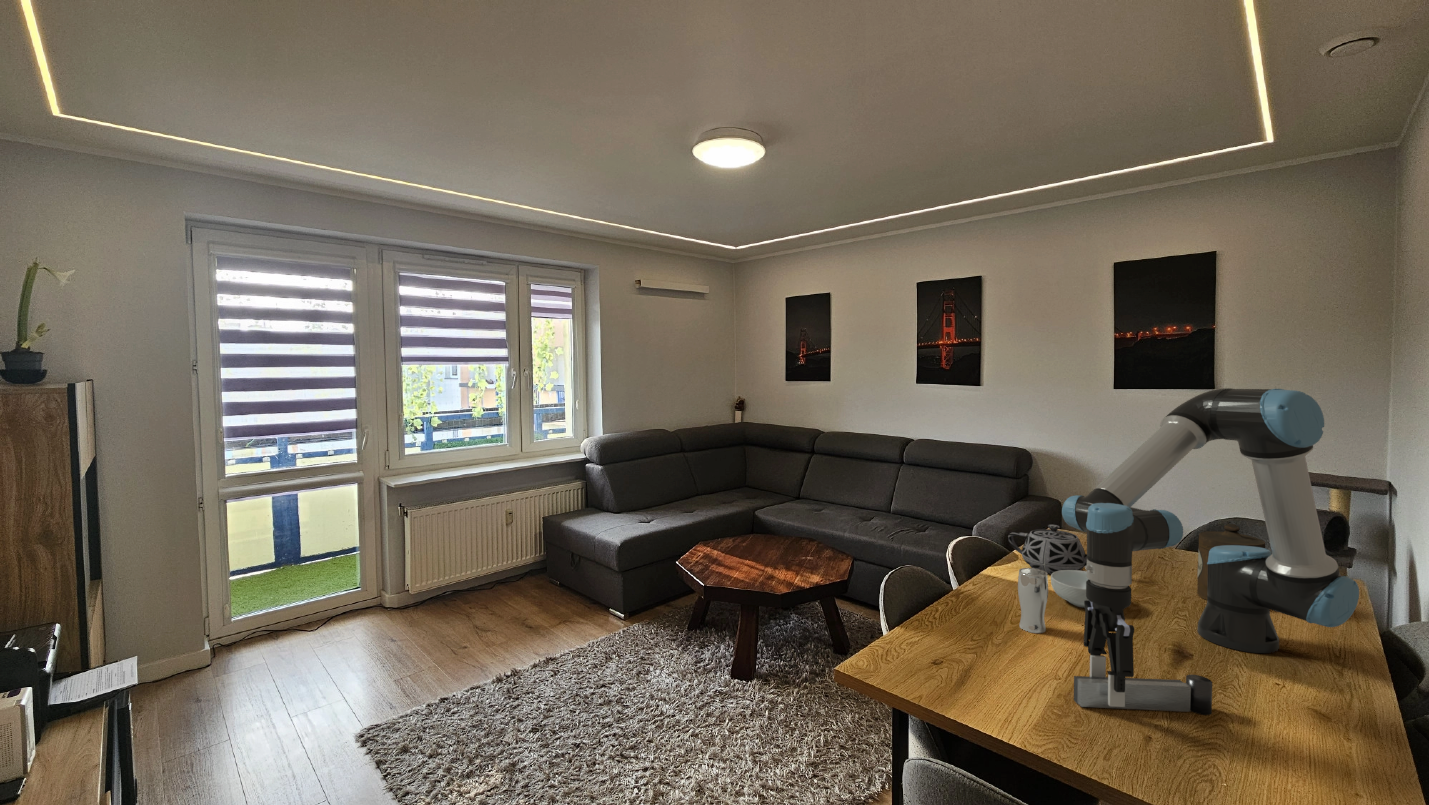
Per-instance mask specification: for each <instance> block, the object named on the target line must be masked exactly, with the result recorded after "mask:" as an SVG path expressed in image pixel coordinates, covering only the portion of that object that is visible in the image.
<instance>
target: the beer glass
mask: <svg viewBox="0 0 1429 805" xmlns="http://www.w3.org/2000/svg"><path fill="white" fill-rule="evenodd" d="M1048 578H1049V577H1048V573H1046V572H1045V571H1043V570H1039V569H1035V568H1032V567H1021V568H1020V569H1018V579H1017V592H1018V593H1017V594H1018V595H1017V596H1018V601H1019V605H1020V621H1019V629H1021V630H1022V629H1023V631H1024V630H1025V631H1024V632H1027V631H1028V632H1027V633H1032V634H1043V633H1045V632H1046V631H1047V630H1046V627H1047V626H1046V624H1045V623H1046V622H1045V613H1046V608H1047V603H1048V598H1049V580H1048Z"/></svg>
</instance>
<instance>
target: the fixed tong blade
mask: <svg viewBox="0 0 1429 805" xmlns="http://www.w3.org/2000/svg"><path fill="white" fill-rule="evenodd" d="M1078 678H1081V679H1106V680H1108V676H1106V677H1090V676H1087V675H1086V676H1084V675H1083V676H1081V675H1074V676H1073V701H1074V702H1075V703H1076V704H1077V705H1079V704H1078V703H1077V697H1078ZM1125 680H1130V681H1154V682H1179V683H1184V681H1182V680H1180V679H1168V678H1167V679H1165V678H1164V679H1163V678H1160V679H1159V678H1141V677H1140V678H1136V677H1125ZM1185 683H1187V684H1188V685H1189V686H1190V687H1191V699H1190V712H1191V713H1195V714H1197V715H1202V716H1210V715H1212V712H1213V711H1212V710H1213V709H1212V708H1213V707H1212V705H1213V681H1212V680H1211V679H1209V678H1207V677H1205V676H1202V675H1198V674H1187V675H1185Z"/></svg>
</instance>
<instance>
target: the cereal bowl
mask: <svg viewBox="0 0 1429 805" xmlns="http://www.w3.org/2000/svg"><path fill="white" fill-rule="evenodd" d="M1088 580H1089V579H1088V578H1087V570H1080V571H1079V570H1061V571H1056V572H1053V573H1052V574H1050V585H1051V587H1052V590H1053V591H1054V592H1055V594H1056V595H1057V596H1058V597H1060V598H1061V599H1063V600H1066V601H1067V602H1068V603H1070V604H1071V605H1074V606H1075V607H1078V608H1084V609H1085V605H1084V601H1085V600H1088V599H1087V598H1086V581H1088Z"/></svg>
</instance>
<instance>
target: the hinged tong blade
mask: <svg viewBox="0 0 1429 805" xmlns="http://www.w3.org/2000/svg"><path fill="white" fill-rule="evenodd" d="M1190 699H1191V687H1190V686H1189V685H1188V684H1187V683H1186V682H1183V683H1179V682H1154V681H1130V680H1125V707H1114V706H1109V705H1108V680H1106V679H1081V678H1078V697H1077V703H1078V704H1077V703H1076V704H1077V705H1079V706H1080V707H1081V708H1099V709H1100V708H1103V709H1104V708H1105V709H1123V710H1124V709H1125V710H1141V711H1142V710H1144V711H1145V710H1146V711H1148V710H1149V711H1164V712H1165V711H1167V712H1187V713H1188V712H1191V711H1190Z"/></svg>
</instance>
